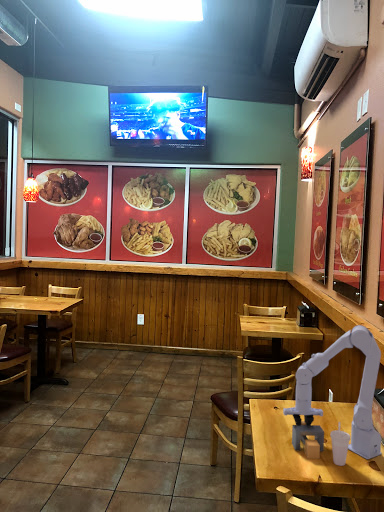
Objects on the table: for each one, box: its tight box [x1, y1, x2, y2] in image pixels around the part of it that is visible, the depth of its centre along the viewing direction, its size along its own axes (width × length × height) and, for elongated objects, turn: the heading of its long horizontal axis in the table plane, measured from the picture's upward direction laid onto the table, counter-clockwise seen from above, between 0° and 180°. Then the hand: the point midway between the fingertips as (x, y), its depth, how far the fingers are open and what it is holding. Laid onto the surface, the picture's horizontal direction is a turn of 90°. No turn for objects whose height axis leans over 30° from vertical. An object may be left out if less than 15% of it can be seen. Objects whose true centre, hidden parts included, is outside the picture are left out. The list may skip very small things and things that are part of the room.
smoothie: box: [329, 421, 351, 466], centre depth 137 cm, size 6×6×14 cm
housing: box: [291, 424, 325, 452], centre depth 147 cm, size 5×10×7 cm, turn 90°
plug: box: [301, 420, 321, 460], centre depth 147 cm, size 16×4×6 cm, turn 0°
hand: (302, 433), depth 154 cm, fingers closed on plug, 2 cm apart
